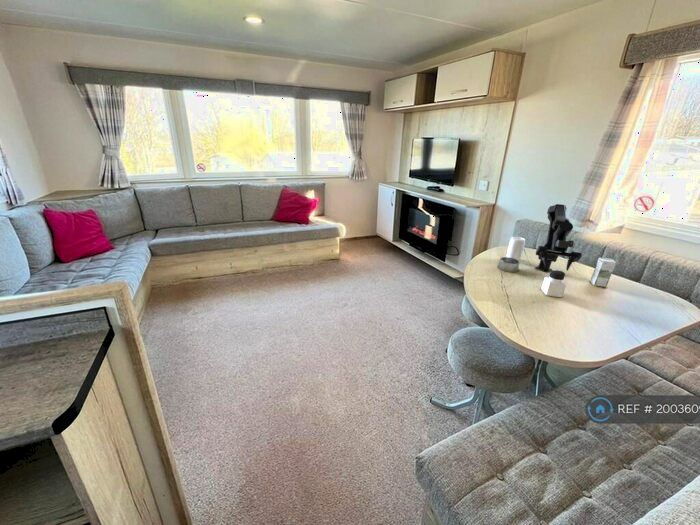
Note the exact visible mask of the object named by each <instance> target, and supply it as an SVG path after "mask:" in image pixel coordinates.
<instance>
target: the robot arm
mask: <svg viewBox="0 0 700 525" xmlns="http://www.w3.org/2000/svg"><path fill="white" fill-rule="evenodd" d="M566 213H567V205H565V204H560V203H556V204H554V205H550V206H549V207H548V208H547V211H546V214H547V219H548V220H549V224H548V231H547V236H546V237H547V238H546V243H545V244H544V245H538V246H537V248H536V250H535V256H537V258H538V260H539V263H538V266H536V267H535V269H536V270H539V271H543V272H546V273H548V272H551V270H553V269H552V268H551V266H552V263H556V262H557V261H558V258H559V256H560V257H567V258H568V259H567V262H566V263H567V264H566V269H565V270H566V272H567V271H569V269H570V268H571V265H572V264H573V263H575V262H579V260H581V258H582V257H583V253H582V252H581V251H579V250H578V251H577V250H571V252H567V251H568V249H569V248H573V247H574V244H575V241H574V240H572V239H571V240H570V239H569V240H567V237H568V236H569V235H570V233H572V230H573V228H574V224H572V223H571V221H570V218H567V214H566Z"/></svg>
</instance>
